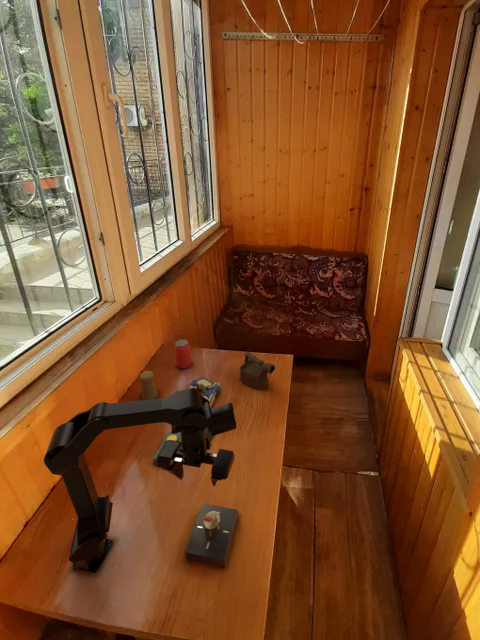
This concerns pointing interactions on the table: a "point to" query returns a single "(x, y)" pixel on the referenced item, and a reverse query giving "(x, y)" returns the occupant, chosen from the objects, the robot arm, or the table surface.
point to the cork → (148, 386)
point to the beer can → (182, 353)
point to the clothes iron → (255, 371)
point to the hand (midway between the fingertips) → (198, 481)
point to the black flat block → (217, 547)
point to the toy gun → (206, 388)
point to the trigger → (172, 437)
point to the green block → (165, 441)
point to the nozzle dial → (212, 524)
